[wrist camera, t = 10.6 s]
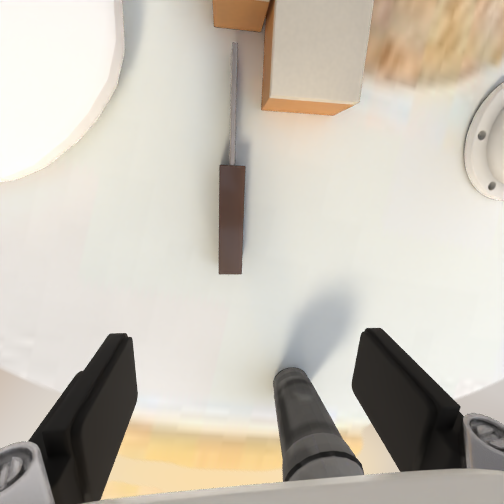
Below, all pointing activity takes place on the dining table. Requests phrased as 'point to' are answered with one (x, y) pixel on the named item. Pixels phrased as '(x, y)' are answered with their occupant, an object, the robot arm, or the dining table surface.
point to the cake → (315, 55)
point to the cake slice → (240, 14)
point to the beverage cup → (309, 432)
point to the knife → (231, 194)
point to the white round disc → (54, 76)
